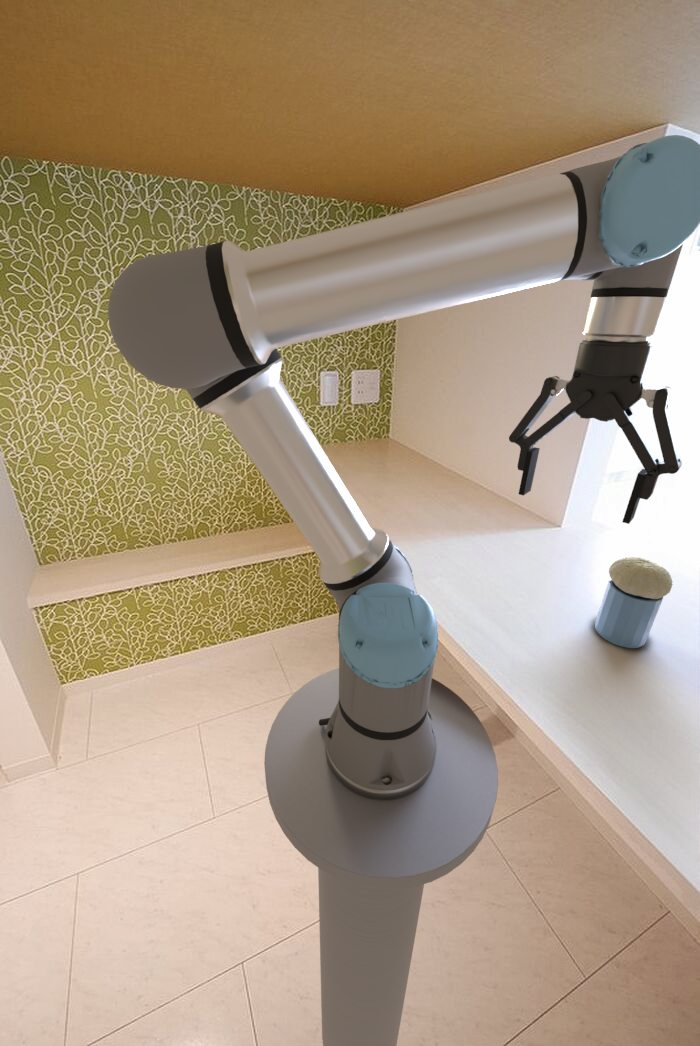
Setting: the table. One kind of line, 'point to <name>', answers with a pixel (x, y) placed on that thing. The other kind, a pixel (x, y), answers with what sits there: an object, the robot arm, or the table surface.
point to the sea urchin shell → (641, 577)
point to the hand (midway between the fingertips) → (572, 505)
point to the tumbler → (625, 617)
